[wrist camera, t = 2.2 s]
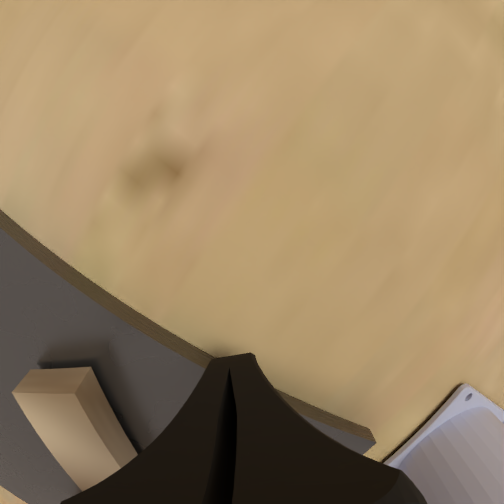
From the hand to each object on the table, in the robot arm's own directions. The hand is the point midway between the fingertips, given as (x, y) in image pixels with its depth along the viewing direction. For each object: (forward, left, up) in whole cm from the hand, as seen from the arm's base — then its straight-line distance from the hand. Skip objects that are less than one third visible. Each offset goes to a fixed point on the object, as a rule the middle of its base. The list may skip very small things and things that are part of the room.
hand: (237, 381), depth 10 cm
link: (0, +9, 0) cm, 9 cm away
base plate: (+2, +11, -2) cm, 11 cm away
